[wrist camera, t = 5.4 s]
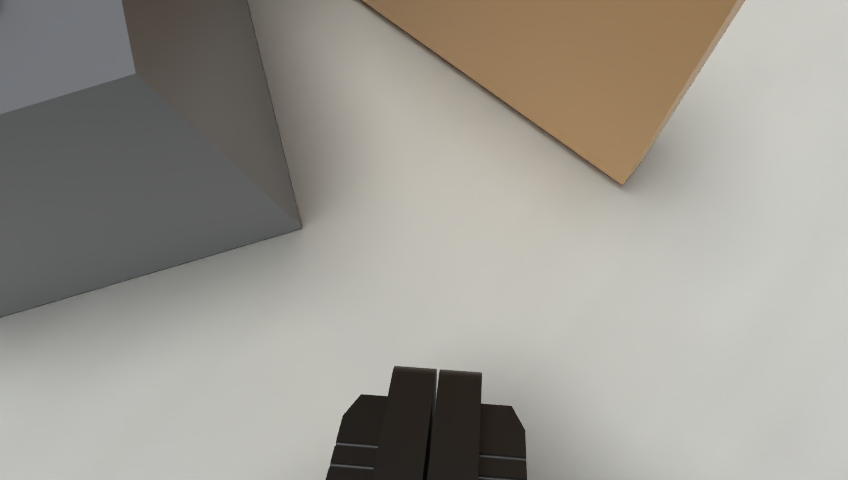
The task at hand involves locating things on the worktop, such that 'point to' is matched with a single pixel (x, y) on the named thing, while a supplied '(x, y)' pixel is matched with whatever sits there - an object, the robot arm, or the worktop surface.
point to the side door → (577, 62)
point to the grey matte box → (131, 142)
